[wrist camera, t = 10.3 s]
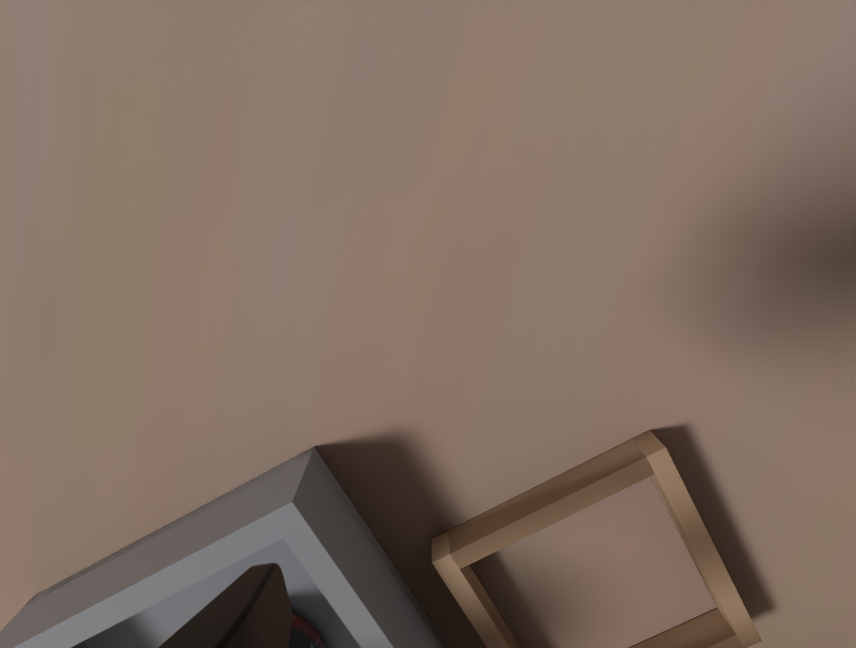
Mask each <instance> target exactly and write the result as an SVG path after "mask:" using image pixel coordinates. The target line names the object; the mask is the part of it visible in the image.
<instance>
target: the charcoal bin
mask: <svg viewBox="0 0 856 648" xmlns="http://www.w3.org/2000/svg"><path fill="white" fill-rule="evenodd" d="M267 563H277V564H278V565H279V566H280V568H281V570H282V573H283V577H284V581H285V584H286V588H287V592H288V596H289V600H290V604H291V609H292V613H294V614H296V615H298V616H300V617H302V618H303V619H305V620H306V621H307V622H308V623H310V624H311V625H312V626H313V627H314V628H315V629H316V630H317V632H318V633H319V635H320V636H321V637H322V639H323V641H324V642H325V644H326V647H327V648H448V646H447V645H446V643H445V642H444V640H443V639H442V637H441V636H440V634H439V633H438V631H437V630H436V628H435V627H434V625H433V624H432V622H431V621H430V619H429V618H428V616H427V615H426V613H425V612H424V610H423V609H422V607H421V606H420V604H419V603H418V601H417V600H416V598H415V597H414V595H413V594H412V592H411V591H410V589H409V588H408V586H407V585H406V583H405V582H404V580H403V579H402V577H401V576H400V574H399V573H398V571H397V570H396V568H395V567H394V565H393V564H392V562H391V561H390V559H389V558H388V556H387V555H386V553H385V552H384V550H383V549H382V547H381V546H380V544H379V543H378V541H377V540H376V538H375V537H374V535H373V534H372V532H371V531H370V529H369V528H368V526H367V525H366V523H365V522H364V520H363V519H362V517H361V516H360V514H359V513H358V511H357V510H356V508H355V507H354V505H353V504H352V502H351V501H350V499H349V498H348V496H347V495H346V493H345V492H344V490H343V489H342V487H341V486H340V484H339V483H338V481H337V480H336V478H335V477H334V475H333V474H332V472H331V471H330V469H329V468H328V466H327V465H326V463H325V462H324V460H323V459H322V457H321V456H320V454H319V453H318V452H317V450H316V449H315V447H313V448H311V449H309V450H307V451H305V452H303V453H301V454H299V455H298V456H296V457H294V458H292V459H290V460H288V461H286V462H284V463H283V464H281V465H279V466H277V467H275V468H273V469H271V470H269V471H268V472H266V473H264V474H262V475H260V476H258V477H256V478H254V479H253V480H251V481H249V482H247V483H245V484H243V485H241V486H239V487H237V488H236V489H234V490H232V491H230V492H228V493H226V494H224V495H222V496H221V497H219V498H217V499H215V500H213V501H211V502H209V503H207V504H206V505H204V506H202V507H200V508H198V509H196V510H194V511H192V512H191V513H189V514H187V515H185V516H183V517H181V518H179V519H177V520H176V521H174V522H172V523H170V524H168V525H166V526H164V527H162V528H160V529H159V530H157V531H155V532H153V533H151V534H149V535H147V536H145V537H144V538H142V539H140V540H138V541H136V542H134V543H132V544H130V545H129V546H127V547H125V548H123V549H121V550H119V551H117V552H115V553H114V554H112V555H110V556H108V557H106V558H104V559H102V560H100V561H99V562H97V563H95V564H93V565H91V566H89V567H87V568H85V569H84V570H82V571H80V572H78V573H76V574H74V575H72V576H70V577H68V578H67V579H65V580H63V581H61V582H59V583H57V584H55V585H53V586H52V587H50V588H48V589H46V590H44V591H42V592H40V593H38V594H37V595H35V596H33V597H32V599H31V600H30V601H29V602H28V603H27V604H26V605H25V606H24V607H23V608H22V609H21V610H20V611H19V612H18V613H17V615H16V616H15V617H14V618H13V619H12V620H11V621H10V622H9V623H8V624H7V625H6V626H5V627H4V628H3V629H2V630H1V632H0V648H158V647H159V646H160V645H161V644H163V643H164V642H165V641H166V640H167V639H168V638H169V637H171V636H172V635H173V634H174V633H175V632H176V631H177V630H179V629H180V628H181V627H182V626H183V625H184V624H186V623H187V622H188V621H189V620H190V619H191V618H192V617H194V616H195V615H196V614H197V613H198V612H199V611H200V610H202V609H203V608H204V607H205V606H206V605H207V604H208V603H210V602H211V601H212V600H213V599H214V598H215V597H216V596H218V595H219V594H220V593H221V592H222V591H223V590H224V589H226V588H227V587H228V586H229V585H230V584H231V583H232V582H234V581H235V580H236V579H237V578H238V577H239V576H241V575H242V574H243V573H244V572H245V571H246V570H247V569H249V568H250V567H251V566H254V565H260V564H267Z"/></svg>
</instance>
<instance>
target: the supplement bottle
mask: <svg viewBox="0 0 856 648" xmlns="http://www.w3.org/2000/svg"><path fill="white" fill-rule="evenodd" d="M288 648H327V647H326V644H325V642H324V641H323V639H322V637H321V636H320V635H319V633H318V632H317V630H316V629H315V628H314V627H313V626H312V625H311V624H310V623H308V622H307V621H306V620H305V619H303V618H302V617H300V616H298V615H296V614H294V613H292V625H291V632H290V640H289V647H288Z"/></svg>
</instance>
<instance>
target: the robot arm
mask: <svg viewBox="0 0 856 648" xmlns="http://www.w3.org/2000/svg"><path fill="white" fill-rule="evenodd" d="M291 625H292V609H291V604H290V600H289V596H288V592H287V588H286V584H285V581H284V577H283V573H282V570H281V568H280V566H279V565H278V564H277V563H267V564H260V565H254V566H251V567H250V568H249V569H247V570H246V571H245V572H244V573H243V574H242V575H241V576H239V577H238V578H237V579H236V580H235V581H234V582H232V583H231V584H230V585H229V586H228V587H227V588H226V589H224V590H223V591H222V592H221V593H220V594H219V595H218V596H216V597H215V598H214V599H213V600H212V601H211V602H210V603H208V604H207V605H206V606H205V607H204V608H203V609H202V610H200V611H199V612H198V613H197V614H196V615H195V616H194V617H192V618H191V619H190V620H189V621H188V622H187V623H186V624H184V625H183V626H182V627H181V628H180V629H179V630H177V631H176V632H175V633H174V634H173V635H172V636H171V637H169V638H168V639H167V640H166V641H165V642H164V643H163V644H161V645H160V646H159V647H158V648H288V647H289V640H290V632H291Z"/></svg>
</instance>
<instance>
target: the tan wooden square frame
mask: <svg viewBox="0 0 856 648" xmlns="http://www.w3.org/2000/svg"><path fill="white" fill-rule="evenodd" d="M649 476H651V478H652V480H653V482H654V484H655V486H656V488H657V490H658V492H659V494H660V496H661V498H662V500H663V502H664V504H665V506H666V508H667V510H668V512H669V514H670V516H671V518H672V519H673V521H674V523H675V525H676V527H677V529H678V531H679V533H680V535H681V537H682V539H683V541H684V543H685V545H686V547H687V549H688V551H689V553H690V555H691V557H692V559H693V561H694V563H695V565H696V567H697V568H698V570H699V572H700V574H701V576H702V578H703V580H704V582H705V584H706V586H707V588H708V590H709V592H710V594H711V596H712V598H713V600H714V602H715V604H716V606H717V609H714V610H712V611H710V612H708V613H706V614H703V615H701V616H699V617H697V618H695V619H692V620H690V621H688V622H686V623H684V624H681V625H679V626H677V627H675V628H673V629H670V630H668V631H666V632H664V633H662V634H659V635H657V636H655V637H653V638H651V639H649V640H646V641H644V642H642V643H640V644H638V645H635V646H633V647H631V648H747V647H749V646H751V645H753V644H756V643H758V642H760V641H762V640H761V638H760V636H759V634H758V632H757V630H756V628H755V626H754V624H753V622H752V620H751V618H750V616H749V614H748V612H747V610H746V608H745V606H744V604H743V602H742V600H741V598H740V596H739V594H738V592H737V590H736V588H735V586H734V584H733V582H732V580H731V578H730V576H729V574H728V572H727V570H726V568H725V566H724V564H723V562H722V560H721V558H720V555H719V553H718V551H717V549H716V547H715V545H714V543H713V541H712V539H711V537H710V535H709V533H708V531H707V529H706V527H705V525H704V523H703V521H702V519H701V517H700V515H699V513H698V511H697V509H696V507H695V505H694V503H693V501H692V499H691V497H690V495H689V493H688V491H687V489H686V487H685V485H684V483H683V481H682V479H681V477H680V475H679V473H678V471H677V469H676V467H675V465H674V463H673V461H672V459H671V457H670V455H669V453H668V451H667V449H666V447H665V446H664V445H663V444H662V443H661V442H660V441H659V439H658V438H657V437H656V436H655V435H654V434H653V433H652V432H651V431H650V430H649V431H647V432H645V433H643V434H641V435H639V436H637V437H635V438H633V439H631V440H629V441H627V442H625V443H623V444H621V445H619V446H617V447H615V448H613V449H611V450H609V451H607V452H605V453H603V454H601V455H599V456H597V457H595V458H593V459H591V460H589V461H587V462H585V463H583V464H581V465H579V466H577V467H575V468H573V469H571V470H569V471H567V472H565V473H563V474H561V475H559V476H557V477H555V478H553V479H551V480H549V481H547V482H545V483H543V484H541V485H539V486H537V487H535V488H533V489H531V490H529V491H527V492H525V493H523V494H521V495H519V496H517V497H515V498H513V499H511V500H509V501H507V502H505V503H503V504H501V505H499V506H497V507H495V508H493V509H491V510H489V511H487V512H485V513H483V514H481V515H479V516H477V517H475V518H473V519H471V520H469V521H467V522H465V523H463V524H461V525H459V526H457V527H455V528H453V529H451V530H449V531H447V532H445V533H443V534H441V535H439V536H437V537H435V538H433V539H431V548H432V564H433V565H434V567H435V568H436V570H437V571H438V573H439V574H440V576H441V578H442V579H443V581H444V582H445V584H446V585H447V587H448V588H449V590H450V591H451V593H452V595H453V596H454V598H455V599H456V601H457V602H458V604H459V605H460V607H461V609H462V610H463V612H464V613H465V615H466V616H467V618H468V619H469V621H470V622H471V624H472V626H473V627H474V629H475V630H476V632H477V633H478V635H479V636H480V638H481V639H482V641H483V643H484V644H485V646H486V647H487V648H521V647H520V645H519V643H518V642H517V640H516V639H515V637H514V635H513V634H512V632H511V631H510V629H509V627H508V626H507V624H506V623H505V621H504V619H503V618H502V616H501V615H500V613H499V611H498V610H497V608H496V607H495V605H494V603H493V602H492V600H491V599H490V597H489V596H488V594H487V592H486V591H485V589H484V588H483V586H482V584H481V583H480V581H479V580H478V578H477V576H476V575H475V573H474V572H473V570H472V568H471V567H470V564H472V563H474V562H476V561H478V560H480V559H482V558H484V557H486V556H488V555H490V554H492V553H494V552H496V551H498V550H500V549H502V548H504V547H506V546H508V545H510V544H512V543H515V542H517V541H519V540H521V539H523V538H525V537H527V536H529V535H531V534H533V533H535V532H537V531H539V530H541V529H543V528H545V527H547V526H549V525H551V524H553V523H555V522H557V521H559V520H562V519H564V518H566V517H568V516H570V515H572V514H574V513H576V512H578V511H580V510H582V509H584V508H586V507H588V506H590V505H592V504H594V503H596V502H598V501H600V500H602V499H604V498H606V497H608V496H611V495H613V494H615V493H617V492H619V491H621V490H623V489H625V488H627V487H629V486H631V485H633V484H635V483H637V482H639V481H641V480H643V479H645V478H647V477H649Z"/></svg>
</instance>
